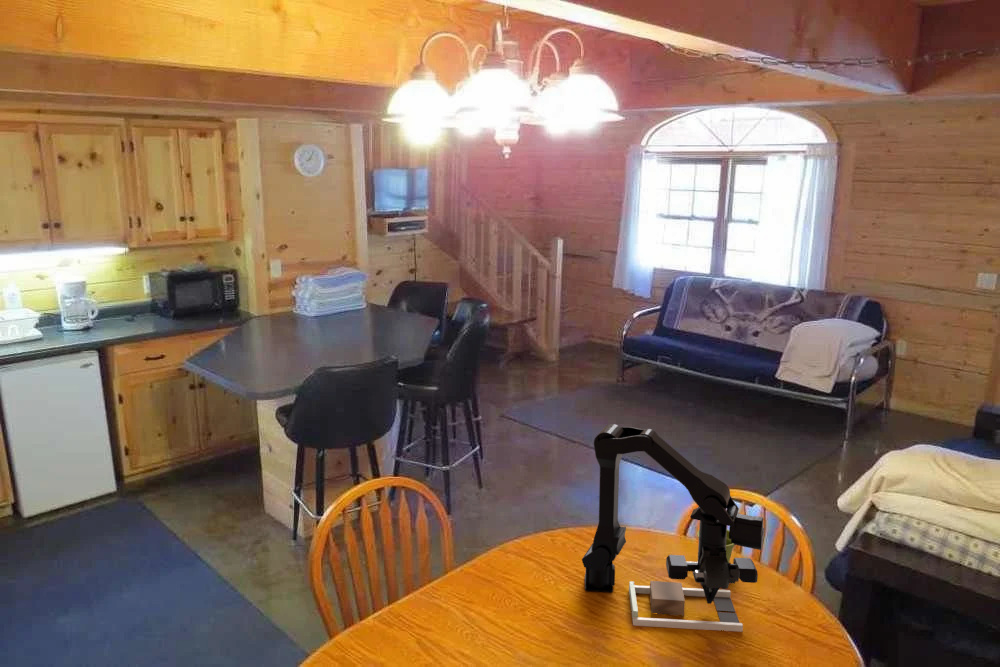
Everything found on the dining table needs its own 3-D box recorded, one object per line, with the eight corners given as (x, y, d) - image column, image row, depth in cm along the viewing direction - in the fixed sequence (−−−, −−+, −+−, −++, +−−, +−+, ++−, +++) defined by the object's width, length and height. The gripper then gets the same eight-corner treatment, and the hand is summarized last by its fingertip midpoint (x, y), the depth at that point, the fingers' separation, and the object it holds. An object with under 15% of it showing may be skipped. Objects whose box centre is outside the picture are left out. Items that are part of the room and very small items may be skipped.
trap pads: (722, 627, 149) (722, 626, 149) (712, 597, 160) (712, 596, 160) (741, 628, 149) (741, 627, 149) (730, 598, 159) (730, 597, 159)
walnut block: (651, 614, 154) (652, 598, 154) (649, 596, 161) (650, 580, 160) (683, 616, 153) (684, 600, 153) (680, 598, 160) (681, 582, 159)
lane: (633, 625, 150) (633, 613, 150) (628, 590, 163) (629, 579, 162) (742, 631, 148) (743, 619, 147) (729, 595, 160) (730, 584, 160)
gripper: (673, 556, 144) (670, 623, 147) (766, 560, 142) (761, 627, 145) (667, 530, 155) (664, 592, 158) (753, 533, 153) (748, 596, 156)
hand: (708, 602), depth 154 cm, fingers closed
